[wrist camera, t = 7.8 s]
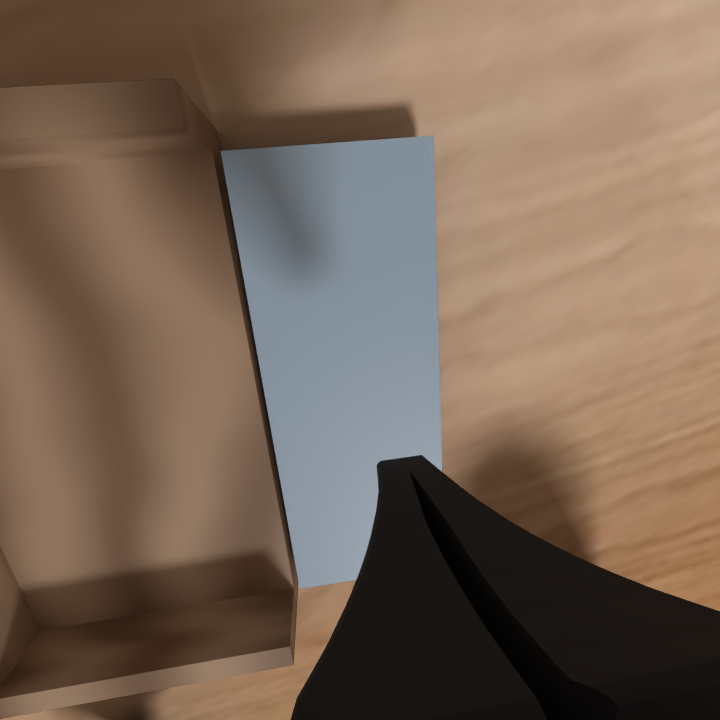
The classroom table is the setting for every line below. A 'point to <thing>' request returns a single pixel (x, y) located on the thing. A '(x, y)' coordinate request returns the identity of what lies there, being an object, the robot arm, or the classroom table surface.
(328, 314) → the panel
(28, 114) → the tray
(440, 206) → the classroom table surface
